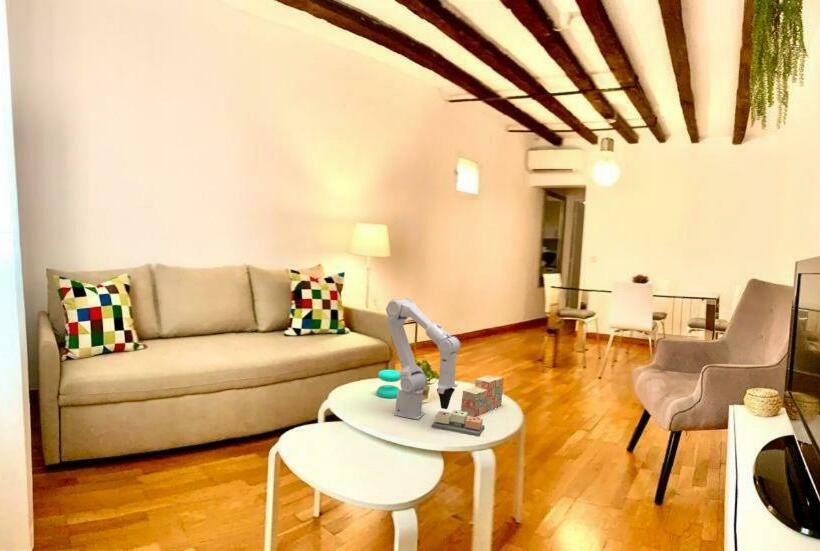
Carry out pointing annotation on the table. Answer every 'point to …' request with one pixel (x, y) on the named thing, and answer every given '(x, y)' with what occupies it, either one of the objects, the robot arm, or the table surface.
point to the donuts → (388, 390)
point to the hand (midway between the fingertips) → (444, 408)
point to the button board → (458, 428)
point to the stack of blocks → (483, 396)
